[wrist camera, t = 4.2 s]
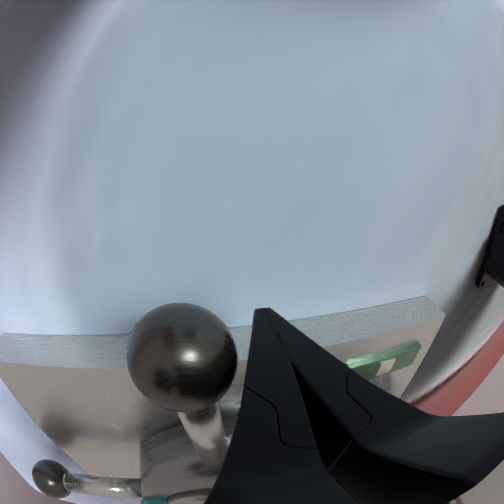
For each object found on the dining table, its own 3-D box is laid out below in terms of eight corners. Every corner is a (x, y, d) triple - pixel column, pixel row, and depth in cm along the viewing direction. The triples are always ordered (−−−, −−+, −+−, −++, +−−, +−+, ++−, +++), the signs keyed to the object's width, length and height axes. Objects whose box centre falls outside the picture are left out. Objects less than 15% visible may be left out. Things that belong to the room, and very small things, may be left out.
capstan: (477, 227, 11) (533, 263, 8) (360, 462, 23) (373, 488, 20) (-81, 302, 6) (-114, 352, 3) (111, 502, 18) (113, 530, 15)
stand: (426, 295, 15) (450, 318, 13) (350, 438, 23) (359, 456, 21) (2, 332, 10) (-14, 365, 8) (105, 470, 18) (105, 491, 16)
